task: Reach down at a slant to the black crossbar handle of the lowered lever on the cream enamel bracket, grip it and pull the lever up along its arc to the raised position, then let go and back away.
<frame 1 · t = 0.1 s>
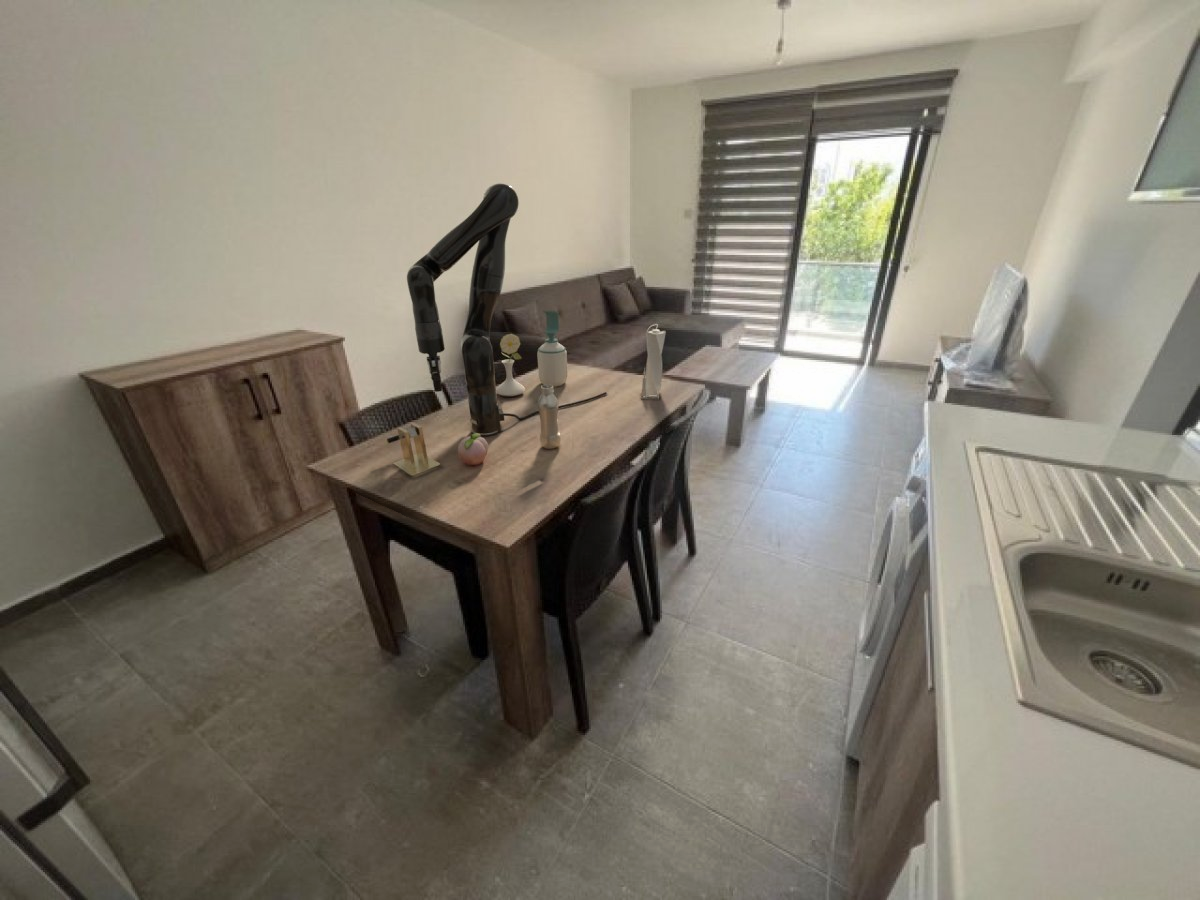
hand: (438, 386, 151), 17 cm above the table, tool pointing down, fingers open, 8 cm apart
bracket: (417, 467, 140), on the table
flower in vase: (512, 394, 195), on the table
lever: (404, 435, 138), point 9 cm above the table, hinge at -25.0°
skyscraper: (651, 396, 192), on the table
soap bottle: (553, 383, 207), on the table
plastic bottle: (550, 447, 152), on the table
decorative fruit: (474, 465, 141), on the table
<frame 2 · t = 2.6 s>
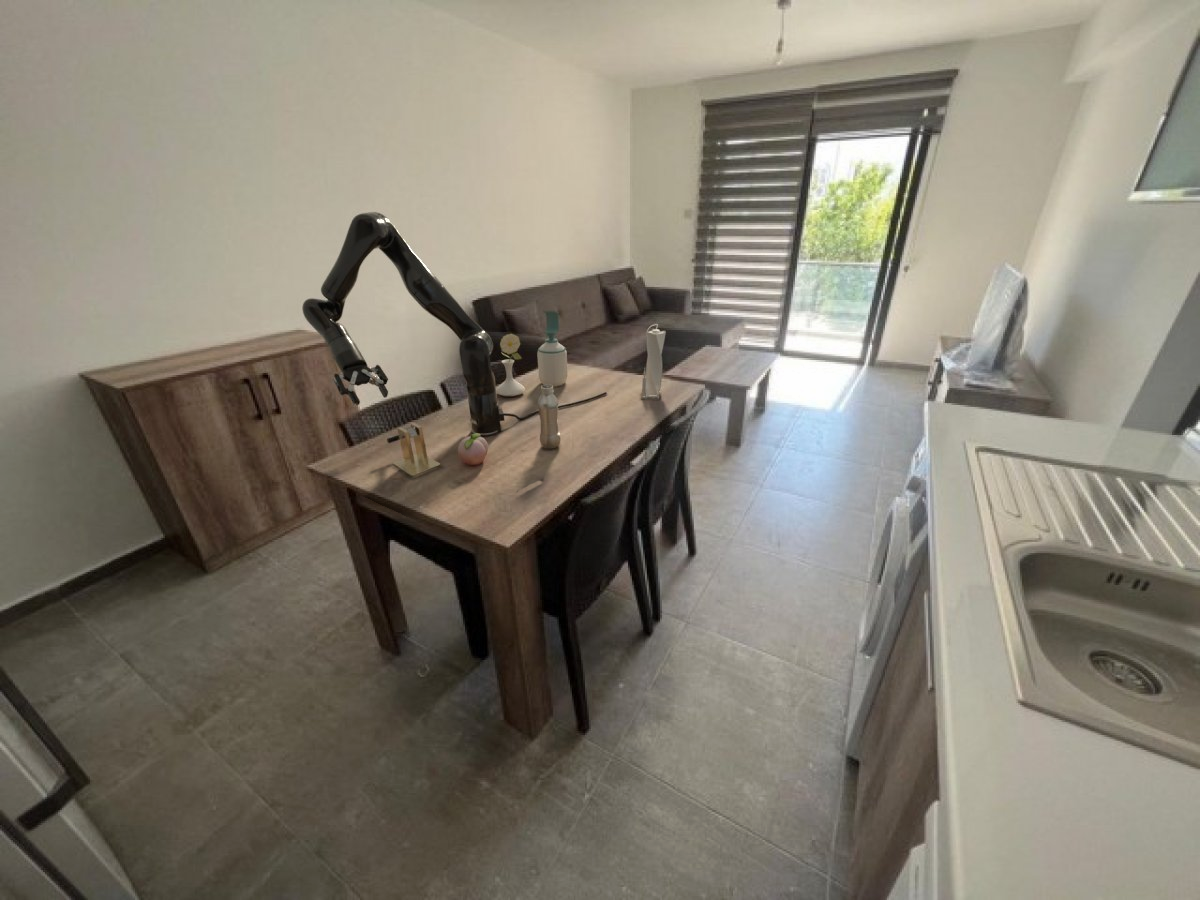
hand: (372, 399, 145), 16 cm above the table, tool tilted 45°, fingers open, 8 cm apart
nothing on the table moved.
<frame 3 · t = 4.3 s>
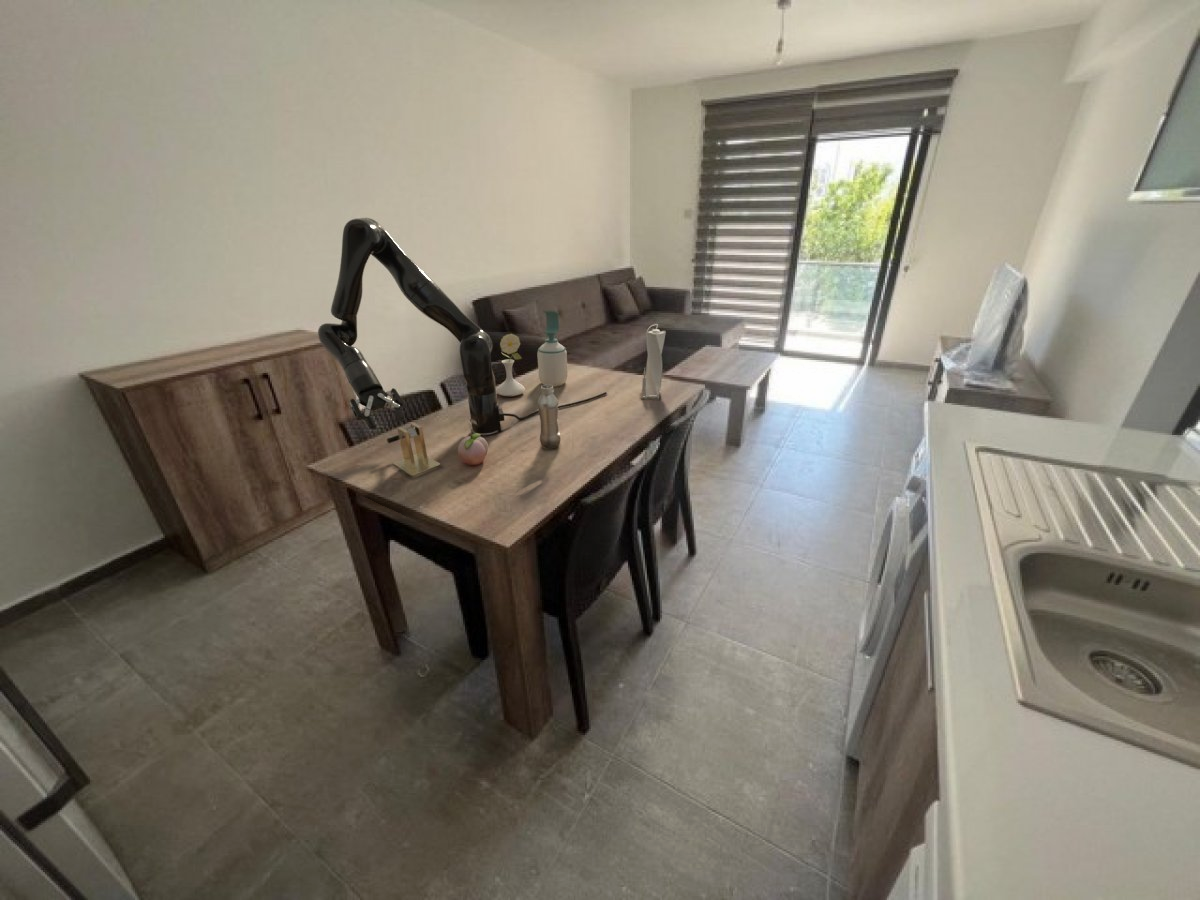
hand: (388, 424, 143), 10 cm above the table, tool tilted 45°, fingers open, 8 cm apart
nothing on the table moved.
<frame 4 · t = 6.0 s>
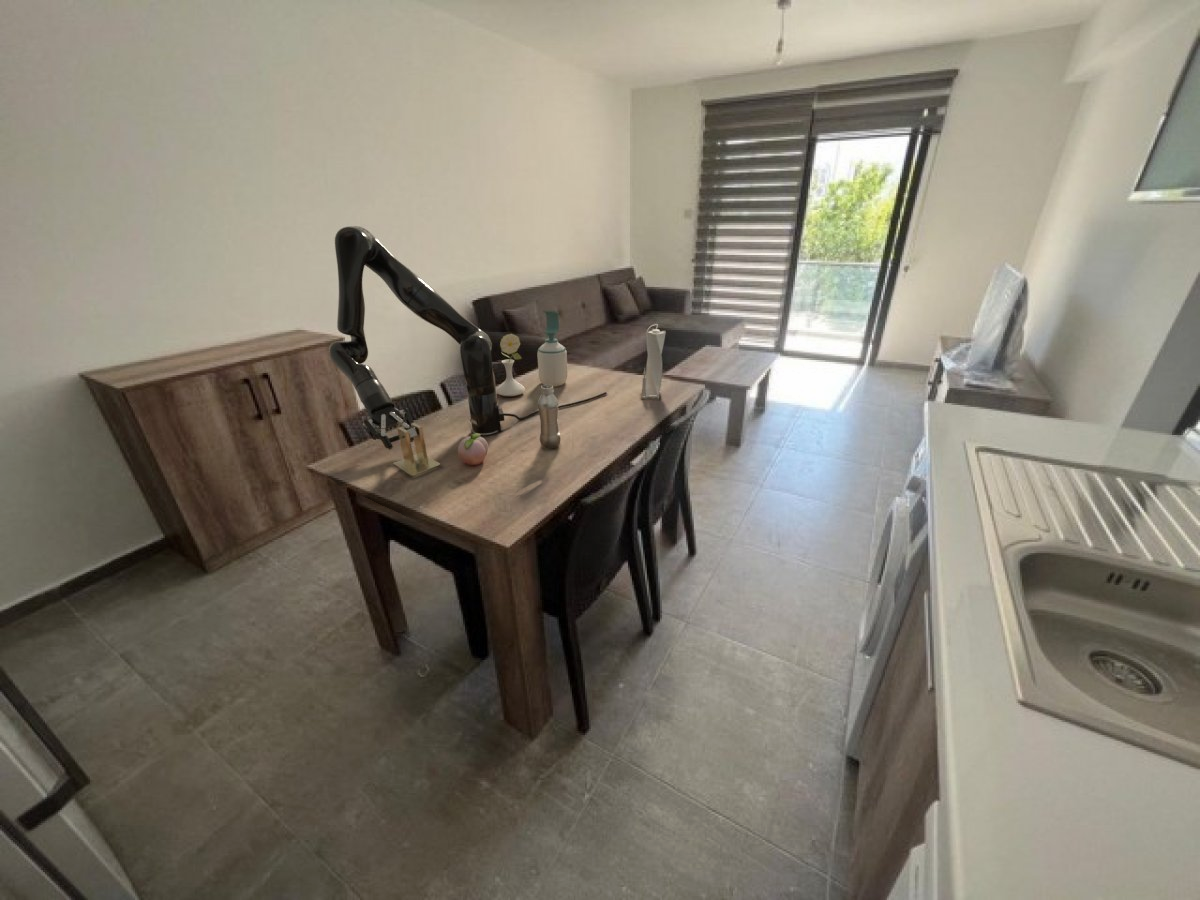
hand: (401, 444, 142), 5 cm above the table, tool tilted 45°, fingers closed on lever, 6 cm apart
lever: (404, 435, 138), point 9 cm above the table, hinge at -25.1°, touching gripper
everything else where it was.
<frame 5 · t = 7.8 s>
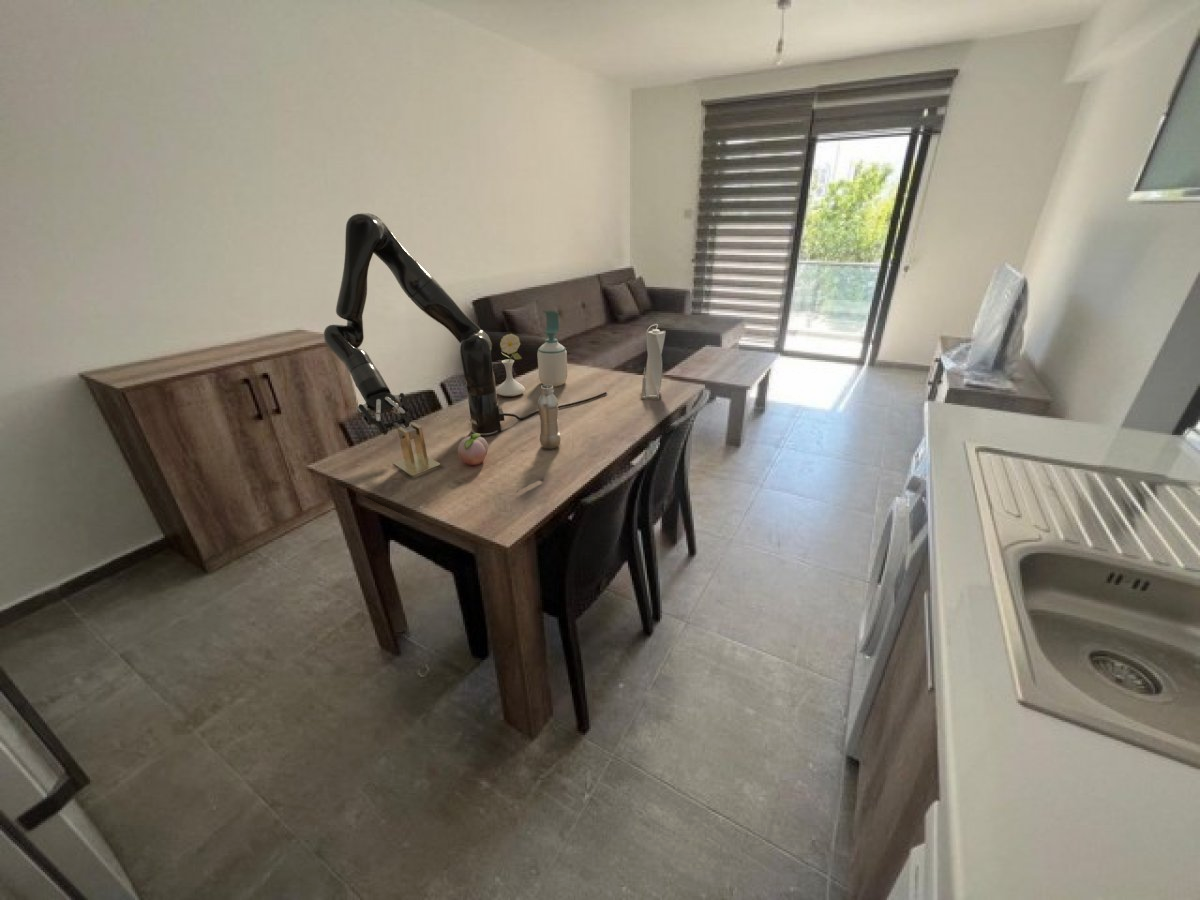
hand: (397, 429, 140), 10 cm above the table, tool tilted 45°, fingers closed on lever, 6 cm apart
lever: (402, 428, 138), point 11 cm above the table, hinge at -0.1°, touching gripper
everything else where it was.
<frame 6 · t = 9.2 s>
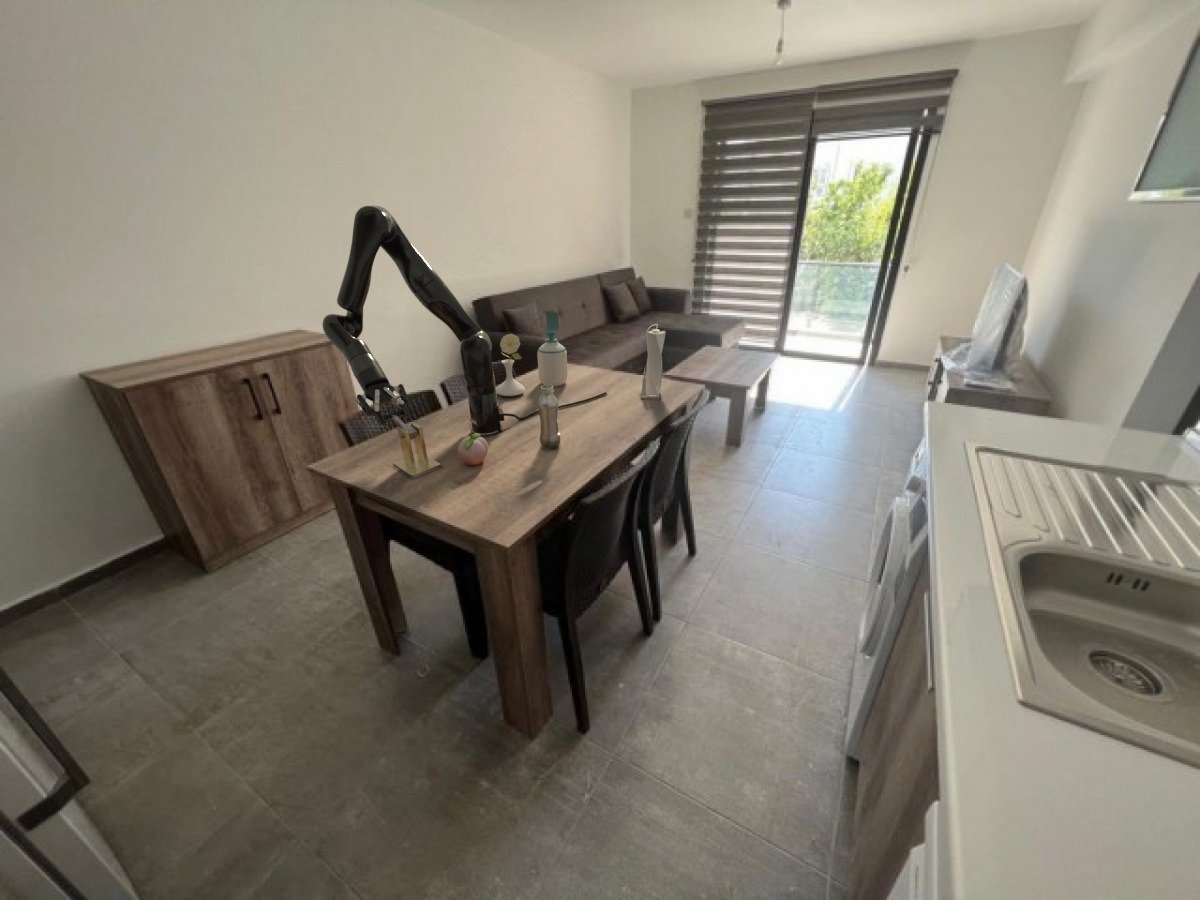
hand: (395, 420, 139), 13 cm above the table, tool tilted 45°, fingers closed on lever, 6 cm apart
lever: (401, 424, 137), point 12 cm above the table, hinge at 16.5°, touching gripper
everything else where it was.
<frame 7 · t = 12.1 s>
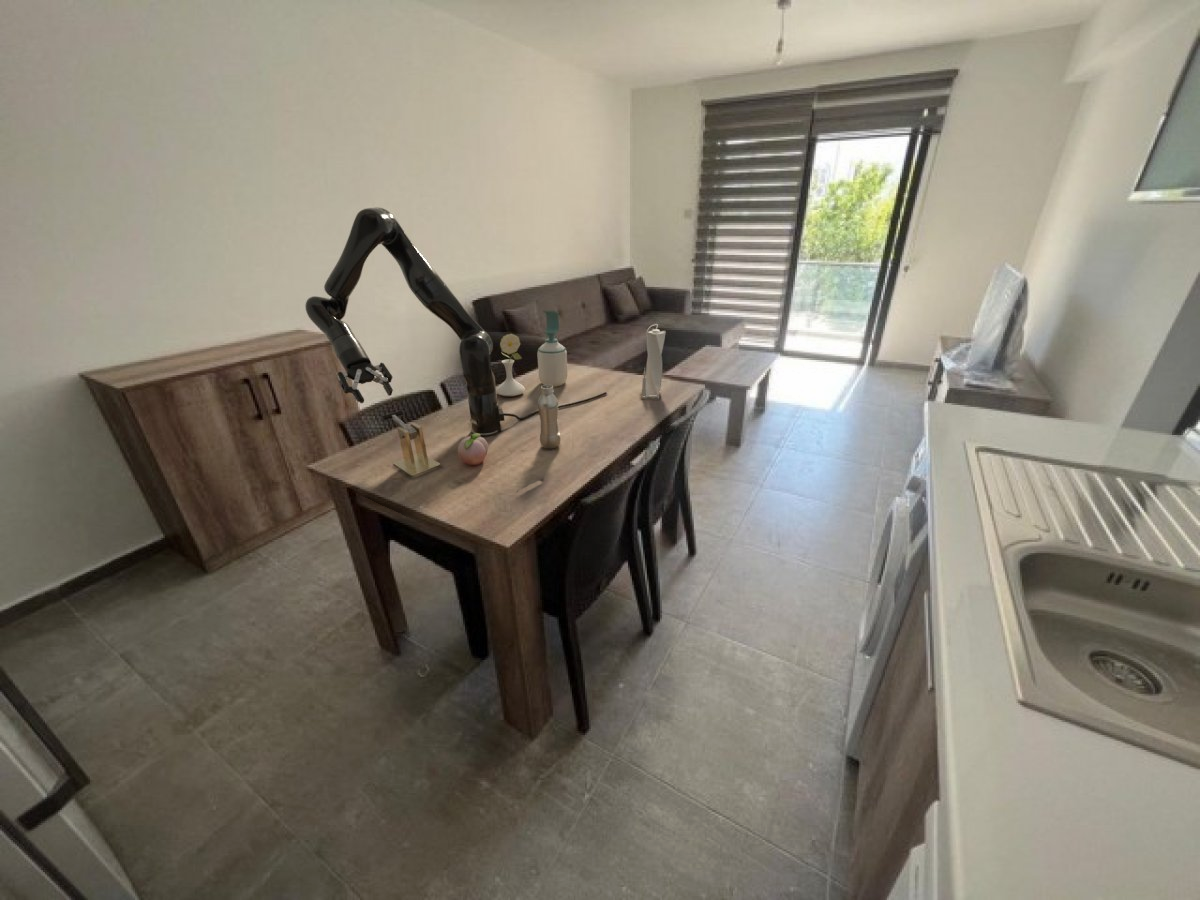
hand: (377, 398, 143), 17 cm above the table, tool tilted 45°, fingers open, 8 cm apart
lever: (401, 424, 137), point 12 cm above the table, hinge at 16.0°
everything else where it was.
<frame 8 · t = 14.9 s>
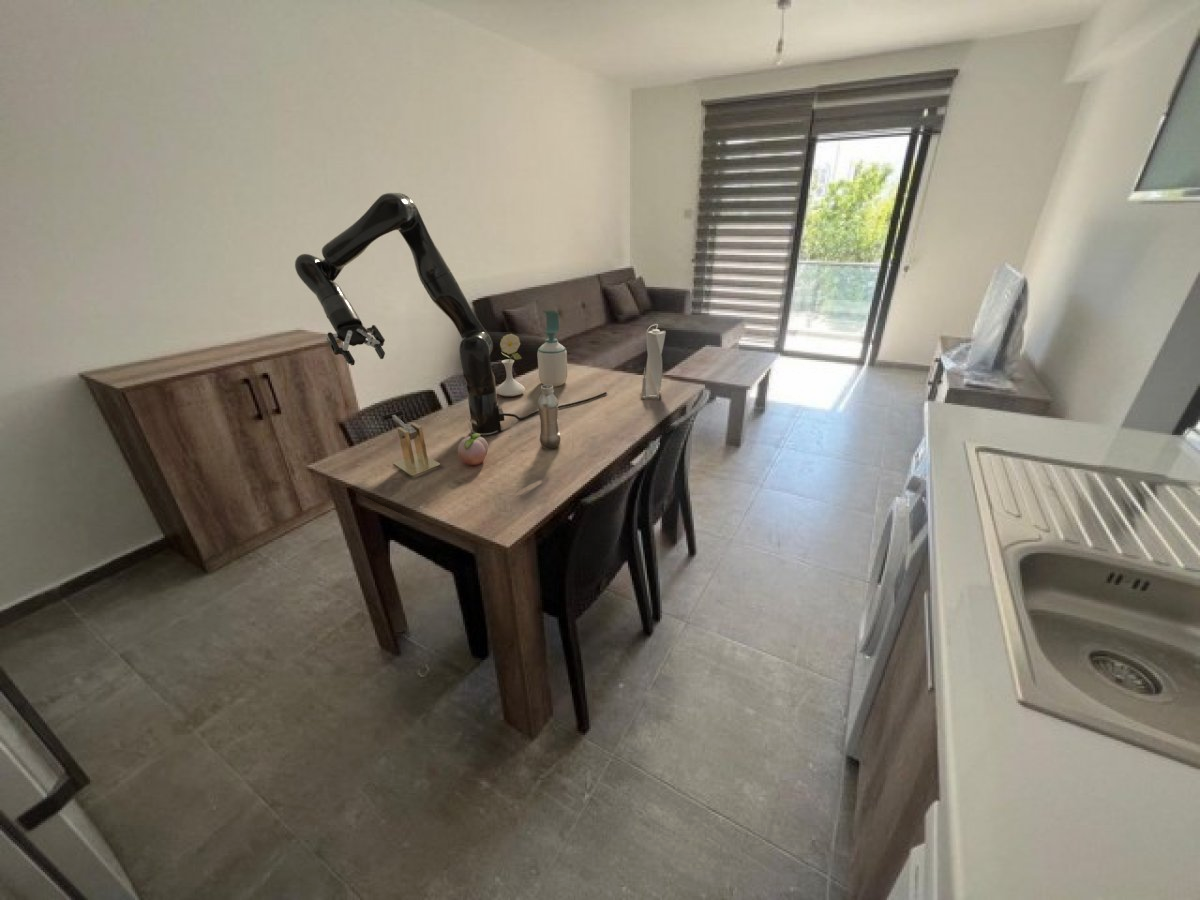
hand: (368, 360, 137), 29 cm above the table, tool tilted 45°, fingers open, 8 cm apart
nothing on the table moved.
at the end: lever at +16° (first picture: -25°); the gripper is holding nothing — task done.
